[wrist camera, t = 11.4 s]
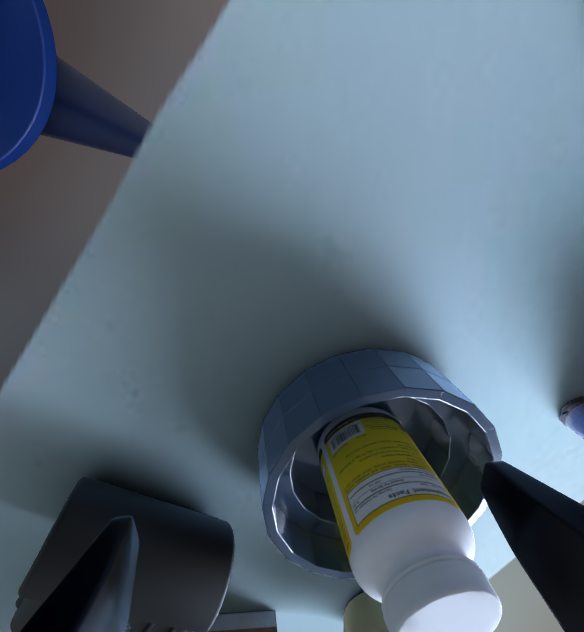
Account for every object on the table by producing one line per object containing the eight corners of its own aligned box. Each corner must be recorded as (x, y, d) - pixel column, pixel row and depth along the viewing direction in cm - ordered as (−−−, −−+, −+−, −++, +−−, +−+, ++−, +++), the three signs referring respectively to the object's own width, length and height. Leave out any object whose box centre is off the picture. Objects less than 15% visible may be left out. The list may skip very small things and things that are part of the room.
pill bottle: (380, 480, 26) (474, 676, 15) (303, 468, 24) (351, 677, 14) (416, 412, 24) (550, 584, 14) (335, 394, 22) (417, 572, 12)
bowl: (223, 482, 24) (220, 552, 20) (324, 310, 21) (349, 347, 16) (383, 527, 28) (412, 594, 24) (490, 390, 25) (548, 438, 20)
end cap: (236, 494, 25) (236, 599, 18) (189, 559, 26) (175, 676, 20) (96, 446, 22) (39, 553, 15) (53, 522, 23) (-15, 647, 17)
